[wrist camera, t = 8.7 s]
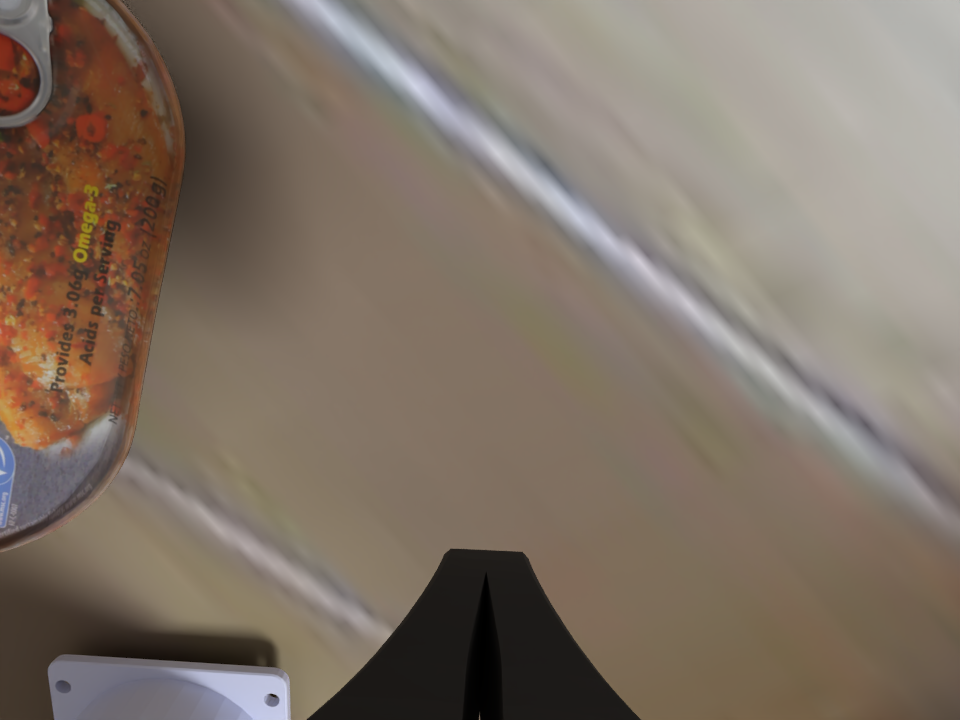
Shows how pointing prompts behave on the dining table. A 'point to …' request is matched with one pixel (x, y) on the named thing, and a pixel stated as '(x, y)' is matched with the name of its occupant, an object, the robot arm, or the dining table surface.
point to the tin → (78, 248)
